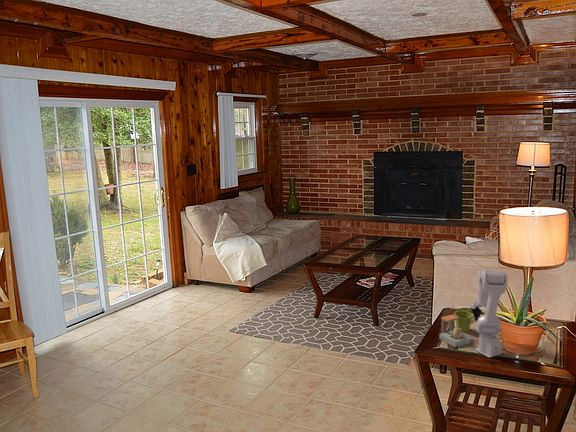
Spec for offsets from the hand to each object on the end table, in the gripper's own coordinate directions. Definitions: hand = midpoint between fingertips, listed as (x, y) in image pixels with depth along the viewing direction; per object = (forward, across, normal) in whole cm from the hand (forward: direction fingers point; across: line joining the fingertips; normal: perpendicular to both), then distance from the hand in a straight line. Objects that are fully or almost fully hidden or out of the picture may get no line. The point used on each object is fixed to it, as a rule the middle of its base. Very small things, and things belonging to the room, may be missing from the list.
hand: (482, 319), depth 259 cm
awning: (+10, +12, -10) cm, 19 cm away
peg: (+10, +14, -2) cm, 17 cm away
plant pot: (+10, +1, -12) cm, 16 cm away
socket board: (+10, +14, -4) cm, 18 cm away
